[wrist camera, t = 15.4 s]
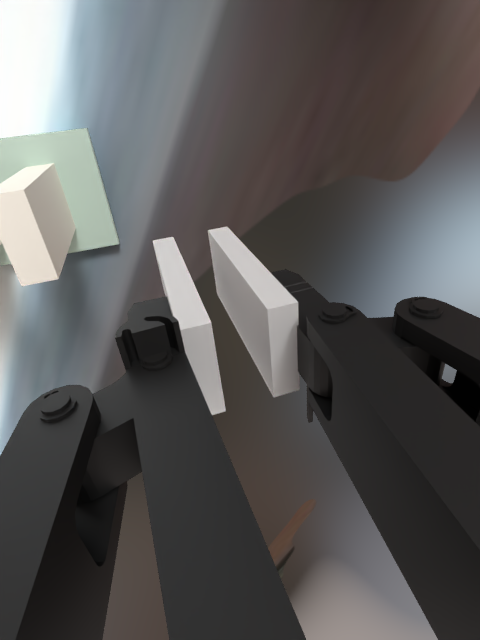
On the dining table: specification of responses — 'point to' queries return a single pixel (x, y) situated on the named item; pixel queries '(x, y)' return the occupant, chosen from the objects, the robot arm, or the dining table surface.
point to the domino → (35, 223)
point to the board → (66, 182)
